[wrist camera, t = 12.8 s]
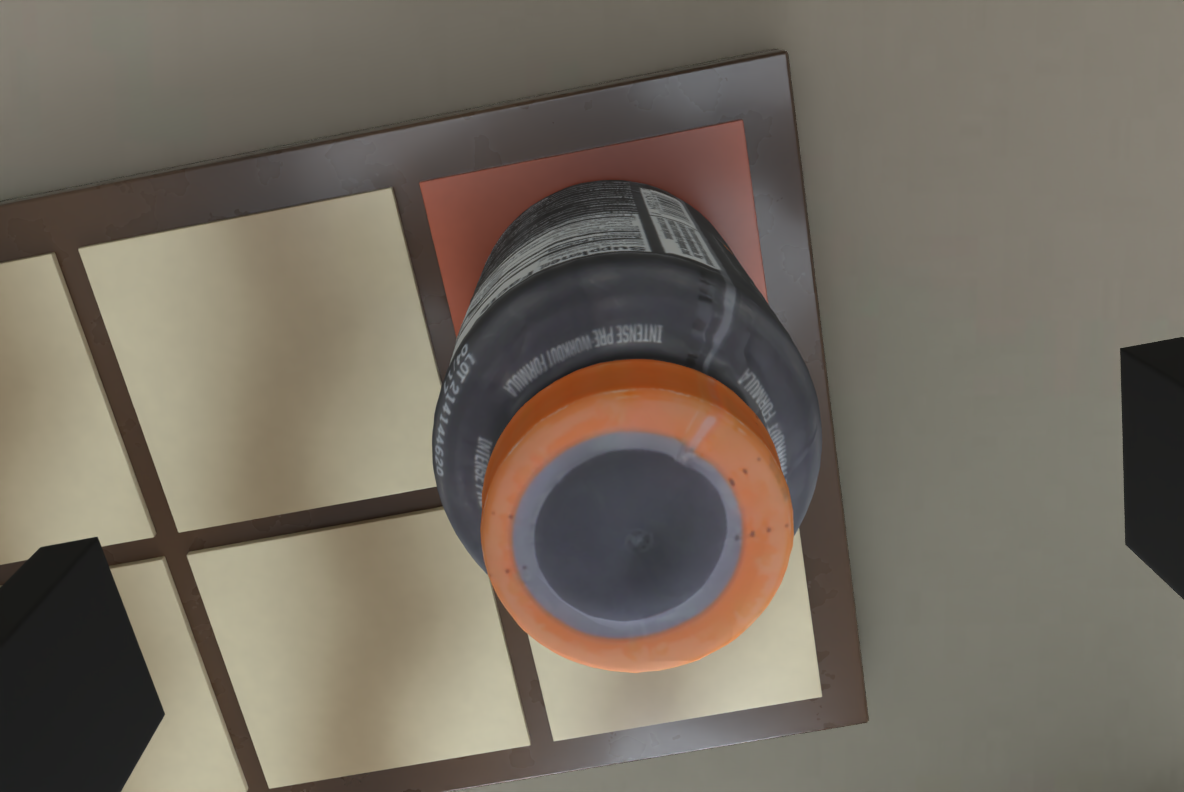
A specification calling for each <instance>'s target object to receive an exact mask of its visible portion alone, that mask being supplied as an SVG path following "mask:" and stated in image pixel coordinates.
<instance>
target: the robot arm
mask: <svg viewBox="0 0 1184 792" xmlns="http://www.w3.org/2000/svg"><path fill="white" fill-rule="evenodd" d="M1120 355H1121V393H1122V432H1123V470H1124V509H1125V545H1126V546H1128V547H1129V548H1130V549H1131V550H1132V551H1133V552H1134V553H1135V554H1136V555H1137V556H1138V557H1139V558H1140V559H1141V560H1142V561H1143V562H1144V563H1146V564H1147V565H1148V566H1149V567H1150V568H1151V569H1152V570H1153V571H1154V572H1155V573H1156V574H1157V575H1158V576H1159V577H1160V578H1161V579H1163V580H1164V581H1165V582H1166V583H1167V584H1168V585H1169V586H1170V587H1171V588H1172V589H1173V590H1174V591H1175V592H1176V593H1177V594H1178V595H1180V596H1181V597H1182V598H1183V599H1184V337H1179V338H1174V339H1169V340H1163V341H1158V342H1152V343H1147V344H1141V345H1136V346H1131V347H1125V348H1120ZM164 716H165V712H164V710H163V707H162V704H161V702H160V699H159V696H158V694H157V691H156V689H155V686H154V683H153V681H152V678H151V675H150V673H149V670H148V668H147V665H146V662H145V660H144V657H143V654H142V652H141V649H140V647H139V644H138V641H137V639H136V636H135V633H134V631H133V628H132V625H131V623H130V620H129V618H128V615H127V612H126V610H125V607H124V604H123V602H122V599H121V597H120V594H119V591H118V589H117V586H116V583H115V581H114V578H113V576H112V573H111V570H110V568H109V565H108V562H107V560H106V557H105V554H104V552H103V549H102V547H101V544H100V541H99V539H98V537H92V538H87V539H82V540H76V541H71V542H65V543H60V544H54V545H49V546H43V547H40V548H39V549H38V550H37V551H36V552H35V553H34V554H33V555H32V556H31V557H30V558H29V559H28V560H27V561H26V562H25V563H24V564H23V565H22V566H21V567H20V568H19V569H18V570H17V571H16V572H15V573H14V574H13V575H12V576H11V577H10V578H9V579H8V580H7V581H6V582H5V583H4V584H3V585H2V586H1V587H0V792H121V791H122V789H123V787H124V785H125V784H126V782H127V780H128V778H129V777H130V775H131V773H132V771H133V770H134V768H135V766H136V765H137V763H138V761H139V759H140V758H141V756H142V754H143V752H144V751H145V749H146V747H147V745H148V744H149V742H150V740H151V738H152V737H153V735H154V733H155V731H156V730H157V728H158V726H159V724H160V723H161V721H162V719H163V717H164Z"/></svg>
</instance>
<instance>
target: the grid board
mask: <svg viewBox="0 0 1184 792" xmlns="http://www.w3.org/2000/svg"><path fill="white" fill-rule="evenodd" d="M599 180H625V181H631V182H637V183H643V184H648V185H651V186H654V187H657V188H659V189H662V190H664V191H667V192H669V193H670V194H672V195H674V196H676V197H677V198H679V199H681V200H683V201H684V202H686V203H687V204H689V205H691V206H692V207H693V208H694V209H696V210H697V211H699V212H700V213H701V214H702V215H703V216H704V217H705V218H706V219H707V220H708V221H709V222H710V223H711V224H712V225H713V226H714V228H715V229H716V230H717V231H718V233H719V234H720V235H721V237H722V238H723V239H724V241H725V242H726V243H727V244H728V246H729V248H730V249H731V250H732V252H733V253H734V255H735V257H736V258H737V260H738V261H739V263H740V264H741V266H742V267H743V268H744V270H745V271H746V273H747V274H748V275H749V277H750V278H751V279H752V280H753V282H754V284H755V286H756V287H757V288H758V290H759V291H760V292H761V294H762V295H763V297H764V298H765V300H766V301H767V303H768V305H769V306H770V308H771V309H772V310H773V311H774V313H775V314H776V315H777V317H778V319H779V321H780V322H781V324H782V325H783V326H784V328H785V329H786V330H787V332H788V333H789V334H790V336H791V338H792V340H793V342H794V344H795V345H796V347H797V348H798V350H799V352H800V354H801V356H802V358H803V360H804V362H805V364H806V366H807V368H808V370H809V373H810V376H811V379H812V382H813V384H814V387H815V390H816V394H817V397H818V403H819V409H820V416H821V427H822V452H821V462H820V469H819V474H818V478H817V482H816V487H815V490H814V494H813V497H812V499H811V502H810V505H809V507H808V510H807V512H806V514H805V517H804V519H803V521H802V523H801V525H800V526H799V528H798V530H797V532H796V534H795V536H794V538H793V547H792V550H791V554H790V557H789V562H788V567H787V570H786V572H785V575H784V577H783V580H782V582H781V585H780V586H779V588H778V590H777V592H776V594H775V595H774V597H773V599H772V600H771V602H770V604H769V605H768V606H767V608H766V609H765V610H764V611H763V613H762V614H761V615H760V616H759V617H758V618H757V619H756V620H755V621H754V622H753V624H752V625H751V626H750V627H748V628H747V629H746V630H745V631H744V632H743V633H742V634H741V635H740V636H739V637H737V638H736V639H735V640H733V641H732V642H731V643H729V644H728V645H726V646H724V647H722V648H720V649H719V650H717V651H715V652H713V653H711V654H709V655H707V656H705V657H703V658H701V659H700V660H697V661H694V662H691V663H688V664H685V665H681V666H678V667H674V668H670V669H665V670H660V671H648V672H640V673H629V672H617V671H608V670H603V669H598V668H593V667H589V666H586V665H583V664H579V663H576V662H573V661H571V660H568V659H566V658H564V657H562V656H560V655H558V654H556V653H554V652H552V651H551V650H549V649H548V648H546V647H545V646H543V645H541V644H540V643H538V642H537V641H536V640H535V639H533V638H532V637H531V636H530V635H529V634H527V633H526V632H525V631H523V630H522V628H521V627H520V626H519V625H518V624H517V622H516V621H515V620H514V619H513V617H512V616H511V615H510V613H509V612H508V611H507V610H506V608H505V607H504V605H503V604H502V603H501V601H500V599H499V597H498V596H497V594H496V592H495V590H494V588H493V586H492V583H491V581H490V578H489V576H488V575H487V574H486V573H485V572H484V571H483V570H482V568H481V567H480V566H479V565H478V564H477V563H476V562H475V560H474V559H473V558H472V557H471V555H470V554H469V553H468V551H467V550H466V548H465V547H464V545H463V544H462V542H461V541H460V539H459V538H458V536H457V535H456V533H455V531H454V529H453V527H452V525H451V523H450V521H449V519H448V517H447V515H446V513H445V510H444V508H443V506H442V503H441V499H440V496H439V493H438V490H437V485H436V480H435V475H434V470H433V459H432V431H433V425H434V413H435V409H436V405H437V401H438V398H439V394H440V390H441V386H442V383H443V381H444V378H445V375H446V372H447V369H448V367H449V364H450V361H451V358H452V355H453V351H454V347H455V343H456V340H457V336H458V333H459V330H460V328H461V325H462V323H463V320H464V318H465V315H466V312H467V310H468V307H469V305H470V300H471V298H472V296H473V294H474V291H475V288H476V286H477V283H478V281H479V279H480V276H481V273H482V271H483V268H484V266H485V263H486V261H487V259H488V257H489V255H490V254H491V251H492V249H493V247H494V246H495V244H496V243H497V241H498V240H499V238H500V237H501V235H502V234H503V233H504V231H505V230H506V229H507V228H508V227H509V225H510V224H511V223H512V222H513V221H514V220H515V219H516V218H517V217H518V216H520V215H521V214H522V213H523V212H524V211H525V210H527V209H528V208H529V207H530V206H532V205H534V204H535V203H537V202H538V201H540V200H542V199H543V198H545V197H547V196H549V195H551V194H553V193H555V192H558V191H560V190H562V189H565V188H567V187H570V186H573V185H576V184H580V183H586V182H592V181H599ZM92 537H98V539H99V541H100V544H101V547H102V549H103V552H104V554H105V557H106V560H107V562H108V565H109V568H110V570H111V573H112V576H113V578H114V581H115V583H116V586H117V589H118V591H119V594H120V597H121V599H122V602H123V604H124V607H125V610H126V612H127V615H128V618H129V620H130V623H131V625H132V628H133V631H134V633H135V636H136V639H137V641H138V644H139V647H140V649H141V652H142V654H143V657H144V660H145V662H146V665H147V668H148V670H149V673H150V675H151V678H152V681H153V683H154V686H155V689H156V691H157V694H158V696H159V699H160V702H161V704H162V707H163V710H164V712H165V716H164V717H163V719H162V721H161V723H160V724H159V726H158V728H157V730H156V731H155V733H154V735H153V737H152V738H151V740H150V742H149V744H148V745H147V747H146V749H145V751H144V752H143V754H142V756H141V758H140V759H139V761H138V763H137V765H136V766H135V768H134V770H133V771H132V773H131V775H130V777H129V778H128V780H127V782H126V784H125V785H124V787H123V789H122V791H121V792H450V791H456V790H462V789H468V788H474V787H480V786H486V785H492V784H498V783H504V782H510V781H516V780H522V779H528V778H535V777H541V776H547V775H553V774H559V773H565V772H571V771H577V770H583V769H589V768H595V767H601V766H607V765H613V764H619V763H625V762H632V761H638V760H644V759H650V758H656V757H662V756H668V755H674V754H680V753H686V752H692V751H698V750H704V749H710V748H716V747H722V746H729V745H735V744H741V743H747V742H753V741H759V740H765V739H771V738H777V737H783V736H789V735H795V734H801V733H807V732H813V731H820V730H826V729H832V728H838V727H844V726H850V725H856V724H862V723H867V722H868V721H869V716H868V707H867V699H866V691H865V683H864V674H863V666H862V658H861V650H860V641H859V633H858V625H857V617H856V608H855V600H854V592H853V584H852V575H851V567H850V559H849V551H848V542H847V534H846V526H845V518H844V509H843V501H842V493H841V485H840V476H839V468H838V460H837V452H836V443H835V435H834V427H833V419H832V410H831V402H830V394H829V386H828V377H827V369H826V361H825V353H824V344H823V336H822V328H821V320H820V311H819V303H818V295H817V287H816V278H815V270H814V262H813V254H812V245H811V237H810V229H809V221H808V212H807V204H806V196H805V188H804V179H803V171H802V163H801V155H800V146H799V138H798V130H797V122H796V113H795V105H794V97H793V89H792V80H791V72H790V64H789V56H788V52H787V51H784V50H779V49H771V50H766V51H761V52H756V53H751V54H746V55H741V56H736V57H731V58H726V59H721V60H716V61H710V62H705V63H700V64H695V65H690V66H685V67H680V68H675V69H670V70H665V71H660V72H655V73H649V74H644V75H639V76H634V77H629V78H624V79H619V80H614V81H609V82H604V83H599V84H594V85H588V86H583V87H578V88H573V89H568V90H563V91H558V92H553V93H548V94H543V95H538V96H533V97H527V98H522V99H517V100H512V101H507V102H502V103H497V104H492V105H487V106H482V107H477V108H472V109H466V110H461V111H456V112H451V113H446V114H441V115H436V116H431V117H426V118H421V119H416V120H411V121H405V122H400V123H395V124H390V125H385V126H380V127H375V128H370V129H365V130H360V131H355V132H350V133H344V134H339V135H334V136H329V137H324V138H319V139H314V140H309V141H304V142H299V143H294V144H289V145H283V146H278V147H273V148H268V149H263V150H258V151H253V152H248V153H243V154H238V155H233V156H228V157H222V158H217V159H212V160H207V161H202V162H197V163H192V164H187V165H182V166H177V167H172V168H167V169H161V170H156V171H151V172H146V173H141V174H136V175H131V176H126V177H121V178H116V179H111V180H106V181H100V182H95V183H90V184H85V185H80V186H75V187H70V188H65V189H60V190H55V191H50V192H45V193H39V194H34V195H29V196H24V197H19V198H14V199H9V200H4V201H0V587H1V586H2V585H3V584H4V583H5V582H6V581H7V580H8V579H9V578H10V577H11V576H12V575H13V574H14V573H15V572H16V571H17V570H18V569H19V568H20V567H21V566H22V565H23V564H24V563H25V562H26V561H27V560H28V559H29V558H30V557H31V556H32V555H33V554H34V553H35V552H36V551H37V550H38V549H39V548H40V547H43V546H49V545H54V544H60V543H65V542H71V541H76V540H82V539H87V538H92Z"/></svg>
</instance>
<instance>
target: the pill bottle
mask: <svg viewBox="0 0 1184 792" xmlns="http://www.w3.org/2000/svg"><path fill="white" fill-rule="evenodd" d="M821 452H822V427H821V416H820V409H819V403H818V397H817V394H816V390H815V387H814V384H813V382H812V379H811V376H810V373H809V370H808V368H807V366H806V364H805V362H804V360H803V358H802V356H801V354H800V352H799V350H798V348H797V347H796V345H795V344H794V342H793V340H792V338H791V336H790V334H789V333H788V332H787V330H786V329H785V328H784V326H783V325H782V324H781V322H780V321H779V319H778V317H777V315H776V314H775V313H774V311H773V310H772V309H771V308H770V306H769V305H768V303H767V301H766V300H765V298H764V297H763V295H762V294H761V292H760V291H759V290H758V288H757V287H756V286H755V284H754V282H753V280H752V279H751V278H750V277H749V275H748V274H747V273H746V271H745V270H744V268H743V267H742V266H741V264H740V263H739V261H738V260H737V258H736V257H735V255H734V253H733V252H732V250H731V249H730V248H729V246H728V244H727V243H726V242H725V241H724V239H723V238H722V237H721V235H720V234H719V233H718V231H717V230H716V229H715V228H714V226H713V225H712V224H711V223H710V222H709V221H708V220H707V219H706V218H705V217H704V216H703V215H702V214H701V213H700V212H699V211H697V210H696V209H694V208H693V207H692V206H691V205H689V204H687V203H686V202H684V201H683V200H681V199H679V198H677V197H676V196H674V195H672V194H670V193H669V192H667V191H664V190H662V189H659V188H657V187H654V186H651V185H648V184H643V183H637V182H631V181H625V180H599V181H592V182H586V183H580V184H576V185H573V186H570V187H567V188H565V189H562V190H560V191H558V192H555V193H553V194H551V195H549V196H547V197H545V198H543V199H542V200H540V201H538V202H537V203H535V204H534V205H532V206H530V207H529V208H528V209H527V210H525V211H524V212H523V213H522V214H521V215H520V216H518V217H517V218H516V219H515V220H514V221H513V222H512V223H511V224H510V225H509V227H508V228H507V229H506V230H505V231H504V233H503V234H502V235H501V237H500V238H499V240H498V241H497V243H496V244H495V246H494V247H493V249H492V251H491V254H490V255H489V257H488V259H487V261H486V263H485V266H484V268H483V271H482V273H481V276H480V279H479V281H478V283H477V286H476V288H475V291H474V294H473V296H472V298H471V300H470V305H469V307H468V310H467V312H466V315H465V318H464V320H463V323H462V325H461V328H460V330H459V333H458V336H457V340H456V343H455V347H454V351H453V355H452V358H451V361H450V364H449V367H448V369H447V372H446V375H445V378H444V381H443V383H442V386H441V390H440V394H439V398H438V401H437V405H436V409H435V413H434V425H433V431H432V459H433V470H434V475H435V480H436V485H437V490H438V493H439V496H440V499H441V503H442V506H443V508H444V510H445V513H446V515H447V517H448V519H449V521H450V523H451V525H452V527H453V529H454V531H455V533H456V535H457V536H458V538H459V539H460V541H461V542H462V544H463V545H464V547H465V548H466V550H467V551H468V553H469V554H470V555H471V557H472V558H473V559H474V560H475V562H476V563H477V564H478V565H479V566H480V567H481V568H482V570H483V571H484V572H485V573H486V574H487V575H488V576H489V578H490V581H491V583H492V586H493V588H494V590H495V592H496V594H497V596H498V597H499V599H500V601H501V603H502V604H503V605H504V607H505V608H506V610H507V611H508V612H509V613H510V615H511V616H512V617H513V619H514V620H515V621H516V622H517V624H518V625H519V626H520V627H521V628H522V630H523V631H525V632H526V633H527V634H529V635H530V636H531V637H532V638H533V639H535V640H536V641H537V642H538V643H540V644H541V645H543V646H545V647H546V648H548V649H549V650H551V651H552V652H554V653H556V654H558V655H560V656H562V657H564V658H566V659H568V660H571V661H573V662H576V663H579V664H583V665H586V666H589V667H593V668H598V669H603V670H608V671H617V672H629V673H640V672H648V671H660V670H665V669H670V668H674V667H678V666H681V665H685V664H688V663H691V662H694V661H697V660H700V659H701V658H703V657H705V656H707V655H709V654H711V653H713V652H715V651H717V650H719V649H720V648H722V647H724V646H726V645H728V644H729V643H731V642H732V641H733V640H735V639H736V638H737V637H739V636H740V635H741V634H742V633H743V632H744V631H745V630H746V629H747V628H748V627H750V626H751V625H752V624H753V622H754V621H755V620H756V619H757V618H758V617H759V616H760V615H761V614H762V613H763V611H764V610H765V609H766V608H767V606H768V605H769V604H770V602H771V600H772V599H773V597H774V595H775V594H776V592H777V590H778V588H779V586H780V585H781V582H782V580H783V577H784V575H785V572H786V570H787V567H788V562H789V557H790V554H791V550H792V547H793V538H794V536H795V534H796V532H797V530H798V528H799V526H800V525H801V523H802V521H803V519H804V517H805V514H806V512H807V510H808V507H809V505H810V502H811V499H812V497H813V494H814V490H815V487H816V482H817V478H818V474H819V469H820V462H821Z"/></svg>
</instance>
